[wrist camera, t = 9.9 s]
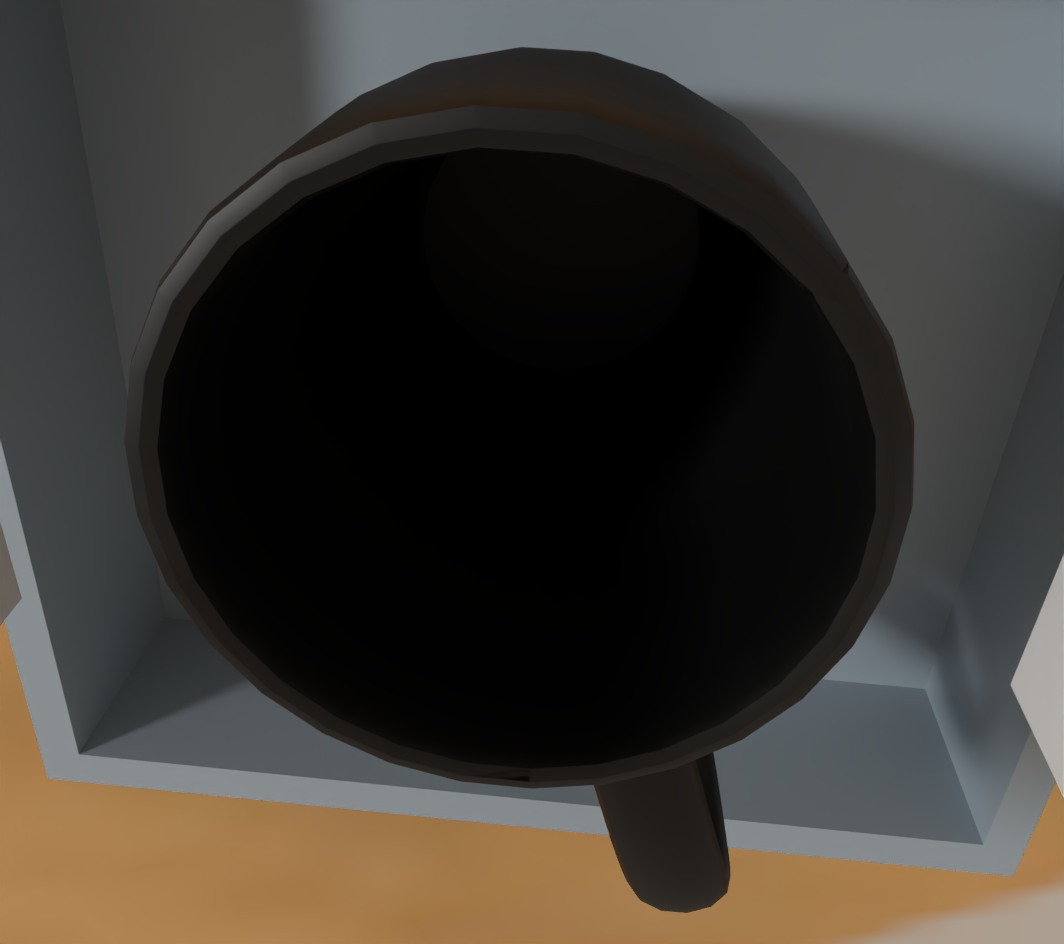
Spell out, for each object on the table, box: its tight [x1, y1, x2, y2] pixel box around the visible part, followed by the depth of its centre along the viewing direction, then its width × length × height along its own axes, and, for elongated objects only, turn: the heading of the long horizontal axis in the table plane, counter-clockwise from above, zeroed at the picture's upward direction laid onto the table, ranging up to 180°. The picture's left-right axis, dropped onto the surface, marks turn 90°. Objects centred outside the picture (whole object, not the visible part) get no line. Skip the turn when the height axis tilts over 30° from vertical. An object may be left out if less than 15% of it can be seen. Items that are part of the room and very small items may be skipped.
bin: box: [0, 0, 1064, 876], centre depth 18 cm, size 18×20×5 cm
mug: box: [124, 47, 914, 913], centre depth 15 cm, size 8×12×10 cm
